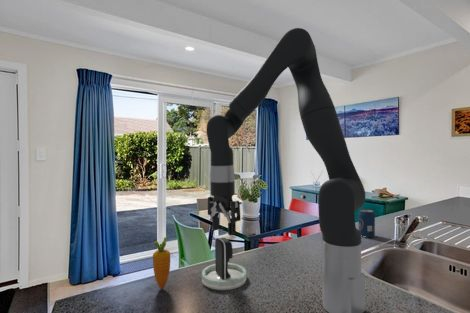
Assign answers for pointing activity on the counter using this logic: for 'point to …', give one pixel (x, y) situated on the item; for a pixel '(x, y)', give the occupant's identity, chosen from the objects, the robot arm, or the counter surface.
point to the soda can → (367, 222)
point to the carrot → (161, 263)
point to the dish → (218, 283)
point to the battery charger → (223, 256)
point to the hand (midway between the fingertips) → (223, 231)
